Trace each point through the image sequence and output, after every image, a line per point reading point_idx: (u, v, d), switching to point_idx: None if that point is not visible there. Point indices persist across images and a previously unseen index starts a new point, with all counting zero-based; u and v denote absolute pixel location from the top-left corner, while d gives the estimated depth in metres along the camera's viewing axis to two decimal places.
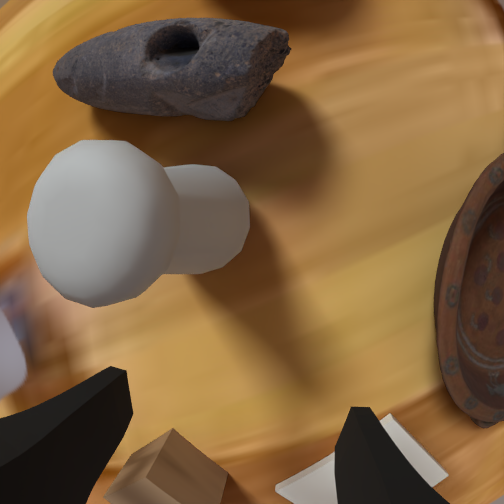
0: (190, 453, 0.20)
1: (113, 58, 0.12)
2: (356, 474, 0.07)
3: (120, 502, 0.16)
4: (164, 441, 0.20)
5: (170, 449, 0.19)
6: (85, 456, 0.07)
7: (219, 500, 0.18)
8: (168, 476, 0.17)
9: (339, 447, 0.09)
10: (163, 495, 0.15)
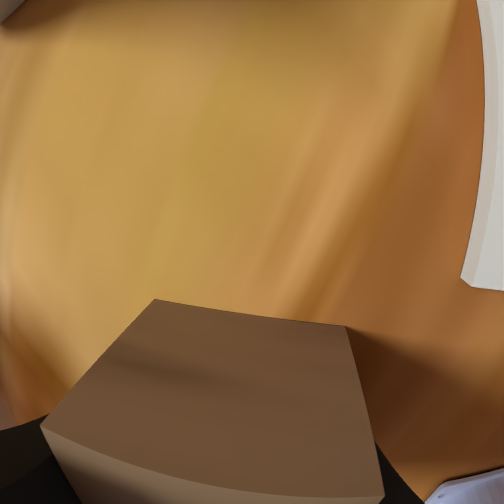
0: (213, 327, 0.09)
1: None
2: None
3: None
4: None
5: (144, 336, 0.08)
6: None
7: (358, 401, 0.06)
8: (133, 402, 0.05)
9: None
10: (127, 472, 0.04)
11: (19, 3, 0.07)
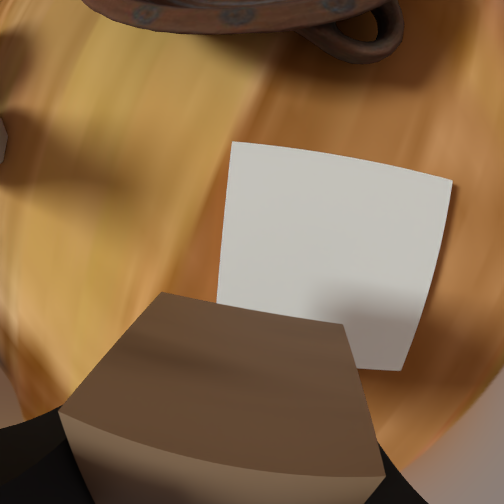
0: (220, 320, 0.09)
1: None
2: None
3: None
4: None
5: (155, 327, 0.08)
6: None
7: (358, 392, 0.07)
8: (149, 389, 0.06)
9: None
10: (146, 456, 0.05)
11: None
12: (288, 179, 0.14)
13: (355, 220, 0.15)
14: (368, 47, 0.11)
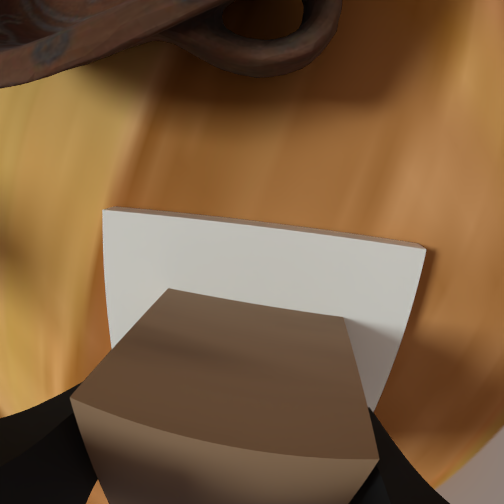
0: (224, 314, 0.10)
1: None
2: None
3: None
4: None
5: (162, 320, 0.09)
6: (85, 456, 0.07)
7: (355, 380, 0.07)
8: (156, 377, 0.06)
9: None
10: (152, 439, 0.05)
11: None
12: (173, 260, 0.11)
13: None
14: (270, 49, 0.07)
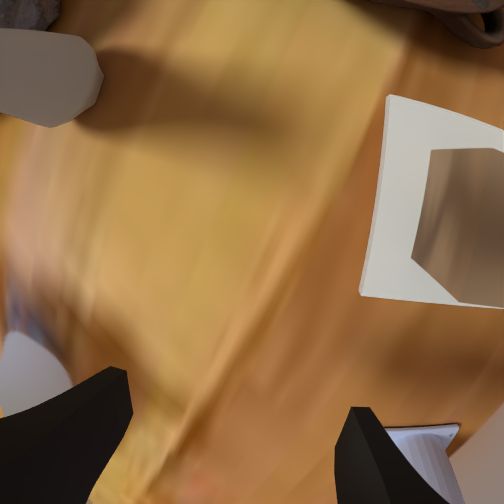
0: None
1: None
2: (356, 474, 0.07)
3: (486, 278, 0.10)
4: (444, 152, 0.13)
5: None
6: (85, 456, 0.07)
7: None
8: None
9: (339, 447, 0.09)
10: None
11: None
12: (435, 132, 0.14)
13: None
14: (490, 36, 0.10)
